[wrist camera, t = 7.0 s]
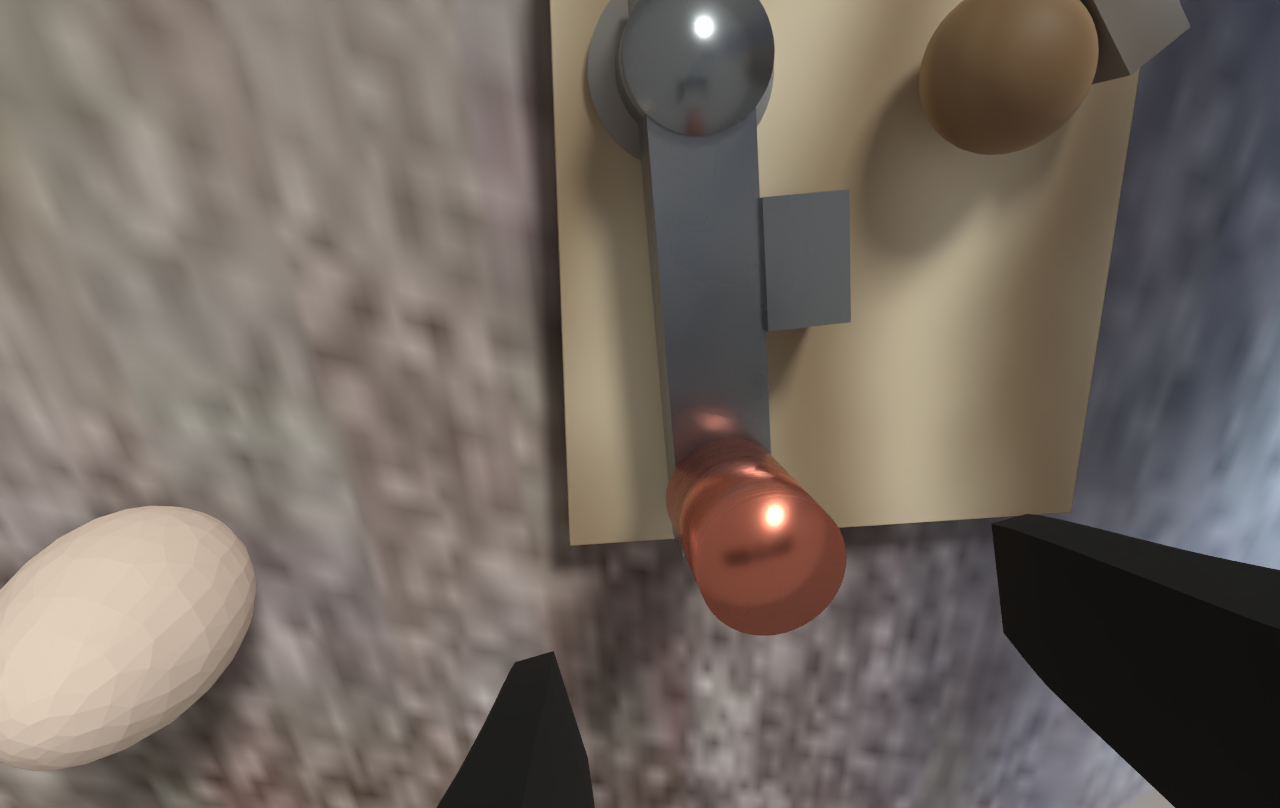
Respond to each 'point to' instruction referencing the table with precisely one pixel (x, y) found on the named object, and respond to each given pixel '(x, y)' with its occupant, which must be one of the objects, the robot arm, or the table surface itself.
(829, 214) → the lever
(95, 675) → the egg
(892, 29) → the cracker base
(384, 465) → the table surface
